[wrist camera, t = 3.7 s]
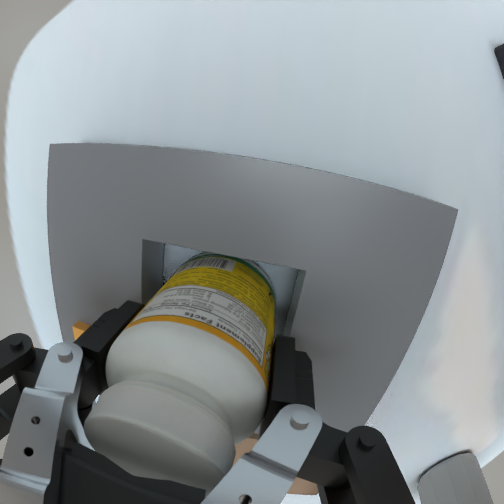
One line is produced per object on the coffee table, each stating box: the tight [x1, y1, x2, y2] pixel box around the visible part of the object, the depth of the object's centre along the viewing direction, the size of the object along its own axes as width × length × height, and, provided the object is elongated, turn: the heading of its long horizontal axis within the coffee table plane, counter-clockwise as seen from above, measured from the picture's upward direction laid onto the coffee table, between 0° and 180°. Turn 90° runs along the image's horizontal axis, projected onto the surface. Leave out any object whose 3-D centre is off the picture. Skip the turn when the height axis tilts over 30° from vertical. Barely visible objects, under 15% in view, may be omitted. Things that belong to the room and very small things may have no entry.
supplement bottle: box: [84, 252, 276, 497], centre depth 10 cm, size 5×5×10 cm
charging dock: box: [47, 143, 458, 434], centre depth 13 cm, size 18×14×3 cm
